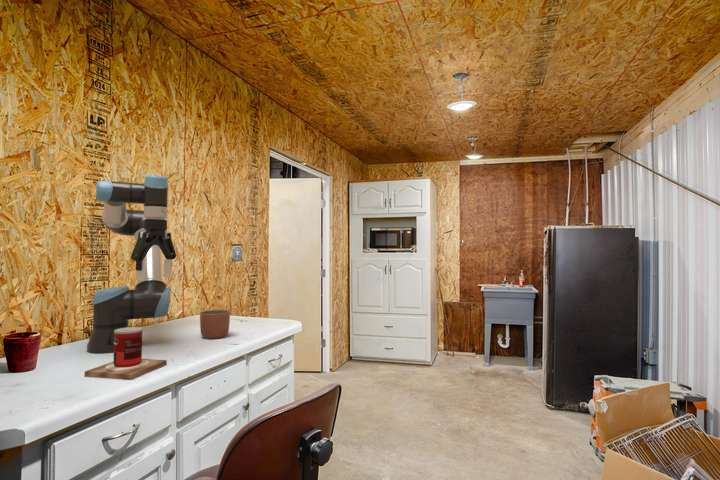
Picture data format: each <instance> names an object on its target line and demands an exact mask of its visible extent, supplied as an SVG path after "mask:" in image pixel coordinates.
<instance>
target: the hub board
mask: <svg viewBox="0 0 720 480" xmlns="http://www.w3.org/2000/svg"><path fill="white" fill-rule="evenodd" d="M167 362H168V361H167V360H166V359H158V358H157V359H154V358H142V361H141V363H140V364H139V365H136V366H132V367H116V366H114V360H113V361H110V362H107V363H105V364H102V365H99V366H97V367H93V368H91V369H88V370H85V371H84V377H87V378H88V377H90V378H99V379H102V378H103V379H115V380H116V379H117V380H130V381H132V380H134V379H136V378H139V377H141V376H144V375H146V374H149V373H150V372H152V371H154V370H157V369H160V368H162V367H164V366H167V364H168V363H167Z"/></svg>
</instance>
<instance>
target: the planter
mask: <svg viewBox="0 0 720 480" xmlns="http://www.w3.org/2000/svg"><path fill="white" fill-rule="evenodd" d="M230 320H231V311H230V310H228V309H209V310H208V309H207V310H202V311H201V312H199V325H200V335H201V336H202V337H203V338H204V339H208V340H209V339H210V340H214V339H221V338H222V339H223V338H225V337H226V336H227V335H228V334H229V332H230V324H231V323H230Z"/></svg>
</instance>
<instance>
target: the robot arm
mask: <svg viewBox="0 0 720 480" xmlns="http://www.w3.org/2000/svg"><path fill="white" fill-rule="evenodd" d="M168 181H169V180H168V177H166V176H164V175H157V174H148V175H146V176H144V182H143V183H137V182H124V181H114V180H113V181H112V180H99V181H97V182H96V189H95V190H96V191H95V192H96V193H95V194H96V196H95V197H96V201H97V202H102V203H103V211H102V214H101V220H102V223H103V225H104V227H106V228H107V229H108V230H109V231H111V232H113V233H115V234H118V235H120V236H121V235H122V236H127V237H130V236H134V239H135V241H136V243H135V245H134V248H133V249H132V252H131V255H130V260H132V261H133V262H135V271H136V274H135V275H136V279H135V280H136V281H138V283H137V284H136V285H134V286H135V287H134V289H130V286H127V285H123V286H115V287H108V288H102V289H99V290H97V291H95V292H94V294H93V302H92V305H93V308H92V309H93V311H92V312H93V313H92V314H93V315H92V331H91V334H90V336H89V341H88V342H87V344H86V352H87V353H92V354H105V353H106V354H107V353H114V330H116V329H120V328H127V327H129V320H142V319H143V320H144V319H153V318H154V319H157V318H164V317H166V316H167V315H168V313H169V309H170V301H171V295H172V294H171V290H172V289H171V288H170V287H167V284H166V283H165V282H164V281H163V278H162V277H164V278H172V273H173V272H172V268H173V260H175V259H176V258H177V252H176V249H175V246H174V242H173V239H172V233H171V232H167V230H168V199H169V198H168V193H169V189H168V188H169V182H168ZM127 204H139V205H140V204H141V205H143V210H137V209H127ZM166 219H167V220H166ZM161 253H162V255H163V256H164V259H163V276H162V257H161V256H162V255H161Z"/></svg>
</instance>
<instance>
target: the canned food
mask: <svg viewBox="0 0 720 480" xmlns="http://www.w3.org/2000/svg"><path fill="white" fill-rule="evenodd" d="M142 359H143V328H142V327H140V326H139V327H138V326H132V327H131V326H128V327H127V328H120V329H116V330H114V352H113V361H114V366H116V367H132V366H136V365H139V364H140V363H141V361H142Z"/></svg>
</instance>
